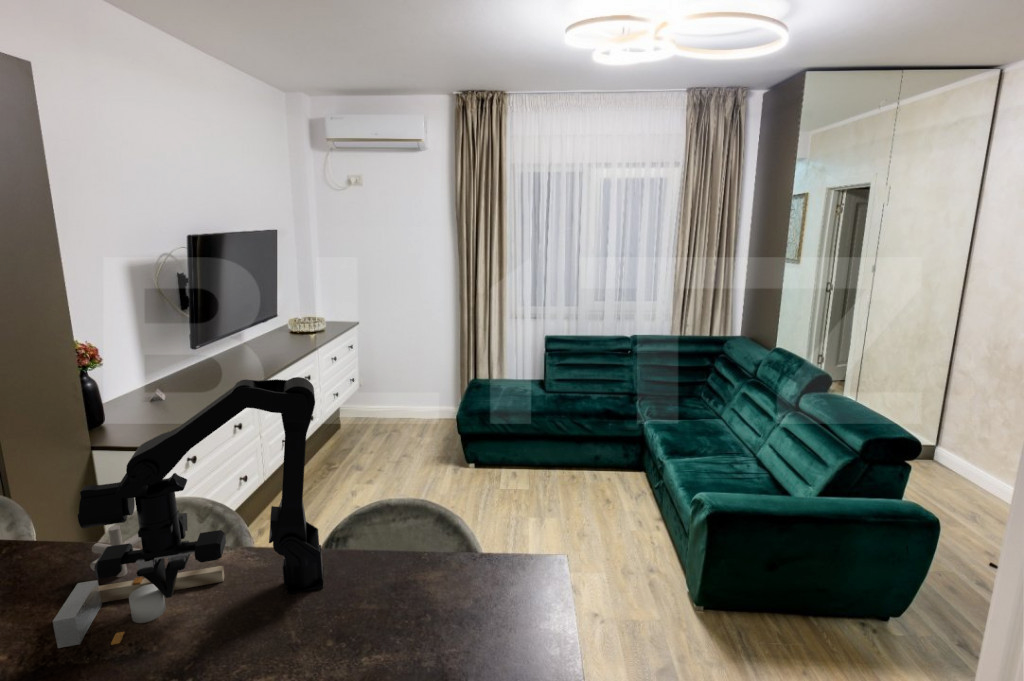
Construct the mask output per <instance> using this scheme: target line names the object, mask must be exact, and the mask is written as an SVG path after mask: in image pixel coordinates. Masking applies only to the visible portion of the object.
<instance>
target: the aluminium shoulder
mask: <svg viewBox="0 0 1024 681" xmlns="http://www.w3.org/2000/svg"><path fill="white" fill-rule="evenodd" d="M99 586H100V585H99V579H97V580H90V581H84V582H78V583H77V584H76V585H75V587H74V589H73V590H72V591H71V593H70V594H69V596H68V597H67V599H66V600H65V602H64V603H63V605H62V606H61V608H60V609H59V611H58V613H57V614H56V616H55V617H54V618H53V620H52V626H53V631H54V636H55V641H56V645H57V649H61V648H66V647H67V648H68V647H72V646H77V645H81V643H82V642H83V640H84V638H85V635H87V632H88V630H89V629H90V628H91V625H92V623H93V621H94V620H95V618H96V616H97V615H98V613H99V611H100V609H101V608H102V606H103V602H101V596H100V590H99Z"/></svg>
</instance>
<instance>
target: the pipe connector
mask: <svg viewBox="0 0 1024 681" xmlns="http://www.w3.org/2000/svg"><path fill="white" fill-rule="evenodd" d="M107 530H108V534H109V536H108V537H109V541H110V544H108V543H102V542H101V543H98V542H96V543H95V544H93V545H92V547H91V552H92V553H94V554H97V555H98V554H99V555H101V554H102V553H103V551H104V550H105V549H106V548H107V547H108V546H115V545H122V544H129V543H130V544H131V545H132V547H133V551H135V550H142V549H141V548H135V546H137V545H138V544H140V543H142V542H141V537H138V532H136V533H135V534H134V535H132V536H131V537H129V538H128V539H126V540H125V541H123V538H122V531H121V526H120V525H119V524H118V525H117V524H116V525H115V524H114V525H113V526H110V527H108V529H107ZM98 559H99V557H98V558H97V559H96V560H93V561H92V562H91V563H90V564H89V565H90V569H91V570H92V571H94V572H95V570H94V568H95V563H96V562H97V560H98ZM127 574H128V568H127V564H122V571H121V572H120V573H119V574H118V575H117V576H115V577H116V578H122V577H125V576H126V575H127Z"/></svg>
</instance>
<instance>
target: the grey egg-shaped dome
mask: <svg viewBox="0 0 1024 681" xmlns="http://www.w3.org/2000/svg"><path fill="white" fill-rule="evenodd" d="M128 602H129V608H130V614H131V620H132V621H133V622H134V623H136V624H137V623H138V624H145V623H149V622H151V621H154V620H156V619H158V618H159V617H160V616H162V615H163V614H164V613H165V612H166V610H167V609H166V608H167V607H166V599H165V596H164V595H163V594H162V593H161V592H160V590H159V589H158V588H157V587H156V586H155V585H154V584H149V585H145V586H142V587H140V588H138V589H136V590H135V591H133V592H132V593H131V594H130V596H129V598H128Z"/></svg>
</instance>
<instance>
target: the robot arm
mask: <svg viewBox="0 0 1024 681" xmlns="http://www.w3.org/2000/svg"><path fill="white" fill-rule="evenodd" d="M315 406H316V398H315V388H314V385H313V384H312V382H310V380H309V379H307V378H305V377H301V376H297V377H291V378H289V379H277V378H276V379H262V380H253V379H240V380H239V381H238V382H236V383H235V384H234V386H233V387H231V388H229V389H228V390H227V391H225V393H223V394H222V395H220V396H219V397H218V398H216V399H215V400H214V401H212V402H211V403H210V404H208V405H206V407H204V408H202V409H201V410H200V411H198V412H197V413H196V414H195V415H193V416H191V417H190V418H189V419H188V420H186V421H185V422H183V423H182V424H181V425H179V426H178V427H176V428H174V429H172V430H170V431H167V432H163V433H161V434H159V435H157V436H155V437H153V438H151V439H149V440H147V441H145V442H143V443H142V444H140V445H139V447H137V449H136V450H135V452H134V453H133V455H132V456H131V457H130V459H129V461H128V463H126V470H125V471H126V473H125V474H124V476H123V477H122V479H121V481H120V482H113V483H112V482H111V483H105V484H89V485H84V486H83V488H82V489H81V490H80V491H79V493H80V500H79V504H78V505H79V506H78V514H77V521H78V524H79V526H80V528H82V529H84V530H85V529H91V528H96V527H102V526H110V525H115V524H116V525H117V524H122V523H125V522H126V521H127V520H128V516H132V515H133V514H134V511H135V508H136V513H137V514H136V515H137V521H138V528H139V529H138V531H137V533H138V537H141V542H140V543H141V547H142V550H135V551H133V548H134V547H132V545H131V544H130V543H129V544H122V545H115V546H108V547H107V548H106V549H105V550H104V551H103V553H102V554H100V556H99V557H98V558H99V559H98V558H97V559H98V560H97V559H96V560H97V562H96V563H95V568H94V570H95V571H94V575H95V578H96V579H97V580H102V579H107V578H114V577H116V576H117V575H118V574H119V573H120V572H121V571H122V564H126V565H128V564H134V563H135V565H137V571H136V577H137V578H138V577H143V578H146V579H147V580H149V581H150V582H151V583H152V584H154V585H155V586H156V587H157V588H158V589H159V590H160V592H161V593H162V594H163V595H164V598H166V599H168V598H169V599H170V598H172V596H173V594H174V591H175V590H174V587H175V582H176V578H177V574H178V573H179V571H181V570H184V569H186V566H187V564H188V561H189V560H190V559H189V558H190V556H191V555H193V554H194V559H195V560H196V561H197V562H199V563H207V562H213V561H214V562H215V561H218V560H220V559H221V558H222V557H223V553H224V550H225V546H226V543H227V539H226V533H225V532H224V531H223V530H221V529H218V530H212V531H204V532H200V533H199V535H198V538H197V540H195V541H189V540H185V537H186V532H187V531H188V530H189V529H188V513H187V512H183V513H180V511H179V510H178V506H177V499H176V493H177V492H182V491H184V490H185V488H186V485H187V483H188V479H187V478H185V477H182V476H181V475H178V474H177V473H176V472H173V473H172V475H171V476H170V477H168V478H166V476H167V475H168V474H169V473H170V472H172V470H174V468H175V467H176V466H177V465H178V464H179V462H180V461H181V460H182V459H183V458H184V457H185V455H186V454H188V452H189V451H190V450H191V449H193V448H194V447H195V446H197V445H198V444H199V443H201V442H202V441H204V440H205V439H206V438H207V437H209V436H210V435H211V434H213V433H214V432H216V431H217V430H218V429H220V428H221V427H222V426H224V425H225V424H227V423H228V422H229V421H230V420H232V419H233V418H234V417H236V416H237V415H238V414H239V415H240V413H242V411H244V410H245V409H255V410H259V411H265V412H269V413H274V414H275V413H276V414H280V415H281V422H282V426H283V430H284V445H283V446H284V448H283V468H282V471H283V472H282V487H281V489H282V490H281V499H280V502H279V506H273V505H272V506H270V507H271V508H270V520H269V522H270V526H269V536H268V544H272V547H273V551H274V553H277V554H278V555H280V556H282V557H284V559H283V561H282V575H283V576H282V577H283V585H284V586H285V587H286V594H287V595H292V594H297V593H303V592H308V591H314V590H320V589H323V588H324V585H325V582H324V578H325V577H324V576H325V575H324V573H325V572H324V570H325V567H324V566H323V556H322V545H321V544H320V538H319V537H320V536H319V529H318V528H317V527H316V526H314V525H313V524H312V523H310V522H308V521H307V520H306V519H307V518H306V513H305V506H304V500H303V496H304V495H303V494H304V481H305V478H304V477H305V462H306V461H305V460H306V443H307V433H308V431H309V427H310V424H311V422H312V417H313V414H314V410H315ZM183 540H184V541H183ZM166 559H167V560H168V563H167V565H166V562H165V560H166Z"/></svg>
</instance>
